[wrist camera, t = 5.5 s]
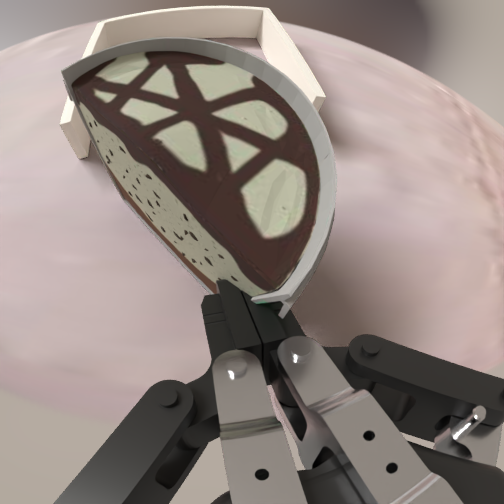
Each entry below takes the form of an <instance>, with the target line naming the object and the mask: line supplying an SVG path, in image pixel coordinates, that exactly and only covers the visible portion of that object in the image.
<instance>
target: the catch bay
mask: <svg viewBox="0 0 504 504" xmlns="http://www.w3.org/2000/svg"><path fill="white" fill-rule="evenodd" d="M160 37H188V38H197V39H198V38H226V37H237V38H257V40H258V42H259V44H260V46H261V48H262V50H263V52H264V54H265V56H266V58H267V60H268V62H269V63H270V64H271V65H273V66H274V67H275V68H277V69H278V70H280V71H281V72H282V73H284V74H285V75H286V76H287V77H289V78H290V79H291V80H292V81H293V82H294V83H295V84H296V85H297V86H298V87H299V88H300V89H301V90H302V91H303V92H304V94H305V95H306V96H307V98H308V99H309V100H310V101H311V103H312V104H313V105H314V107H315V108H316V110H317V112H319V110H320V108H321V106H322V104H323V102H324V100H325V98H326V96H325V94H324V92H323V90H322V89H321V87H320V85H319V83H318V81H317V80H316V78H315V76H314V75H313V73H312V71H311V70H310V68H309V66H308V65H307V63H306V61H305V60H304V58H303V57H302V55H301V54H300V52H299V50H298V49H297V47H296V46H295V44H294V43H293V41H292V40H291V38H290V37H289V35H288V34H287V33H286V31H285V30H284V28H283V27H282V25H281V24H280V23H279V21H278V20H277V19H276V17H275V16H274V14H273V13H272V12H271V11H270V9H269V8H260V7H244V6H198V7H182V8H172V9H163V10H155V11H148V12H142V13H137V14H131V15H126V16H121V17H117V18H112V19H108V20H104V21H100V22H98V24H97V26H96V28H95V30H94V32H93V34H92V37H91V39H90V41H89V43H88V45H87V47H86V50H85V52H84V54H83V57H82V59H83V58H85V57H87V56H89V55H91V54H94V53H96V52H98V51H101V50H103V49H106V48H109V47H112V46H116V45H119V44H123V43H127V42H132V41H136V40H142V39H150V38H160ZM60 126H61V128H62V130H63V132H64V134H65V136H66V138H67V139H68V141H69V143H70V145H71V147H72V148H73V150H74V152H75V154H76V155H77V157H78V159H81V158H85V157H88V153H89V146H90V137H89V135H88V133H87V130H86V128H85V126H84V124H83V122H82V120H81V118H80V115H79V113H78V111H77V109H76V107H75V104H74V102H73V101H71V100H70V98H69V96H68V97H67V101H66V104H65V107H64V111H63V114H62V118H61V121H60Z"/></svg>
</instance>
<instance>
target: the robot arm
mask: <svg viewBox="0 0 504 504" xmlns="http://www.w3.org/2000/svg"><path fill="white" fill-rule="evenodd" d="M216 288H217V294H212V295H206V296H205V297H204V299H203V302H202V304H201V308H202V314H203V319H204V324H205V330H206V335H207V339H208V344H209V349H210V354H211V358H212V360H211V365H210V367H209V369H208V371H207V372H206V373H205V374H204V375H203V376H201V377H200V378H198V379H196V380H194V381H192V382H190V383H188V384H184V383H182V382H180V381H176V380H164V381H160V382H158V383H156V384H154V385H153V386H151V387H150V388H149V389H148V391H147V392H146V393H145V394H144V395H143V397H142V398H141V399H140V400H139V402H138V403H137V404H136V405H135V406H134V408H133V409H132V410H131V411H130V413H129V414H128V415H127V416H126V417H125V419H124V420H123V421H122V422H121V423H120V425H119V426H118V427H117V428H116V429H115V431H114V432H113V433H112V434H111V435H110V437H109V438H108V439H107V440H106V442H105V443H104V444H103V445H102V446H101V448H100V449H99V450H98V451H97V452H96V454H95V455H94V456H93V457H92V458H91V460H90V461H89V462H88V463H87V464H86V466H85V467H84V468H83V469H82V470H81V472H80V473H79V474H78V475H77V476H76V477H75V479H74V480H73V481H72V482H71V483H70V485H69V486H68V487H67V488H66V489H65V491H64V492H63V493H62V494H61V495H60V496H59V498H58V499H57V500H56V501H55V502H54V504H169V502H170V501H171V500H172V498H173V497H174V495H175V494H176V492H177V491H178V489H179V488H180V486H181V485H182V483H183V482H184V480H185V479H186V477H187V476H188V474H189V473H190V471H191V470H192V468H193V467H194V465H195V464H196V462H197V460H198V459H199V457H200V456H201V454H202V452H203V451H204V449H205V448H206V446H207V444H208V442H210V441H212V440H214V439H216V438H218V437H220V438H221V445H222V451H223V457H224V463H225V469H226V474H227V479H228V485H229V491H227V492H226V493H224V494H222V495H221V496H220V497H218V498H217V499H215V500H214V501H213V502H212V503H211V504H504V472H503V471H502V470H501V469H499V468H497V467H496V462H497V457H498V451H499V445H500V438H501V431H502V424H503V422H504V379H502V378H498V377H495V376H492V375H489V374H485V373H482V372H479V371H476V370H473V369H470V368H467V367H463V366H460V365H457V364H454V363H451V362H448V361H445V360H442V359H439V358H436V357H434V356H431V355H428V354H425V353H422V352H419V351H416V350H413V349H411V348H408V347H405V346H402V345H399V344H397V343H394V342H391V341H388V340H386V339H383V338H380V337H377V336H374V335H368V334H366V335H360V336H357V337H355V338H354V339H353V340H352V341H351V342H350V345H349V347H323V346H321V345H320V344H319V343H318V342H317V341H315V340H314V339H312V338H309V337H306V335H305V334H304V332H303V330H302V329H301V327H300V325H299V323H298V322H297V320H296V318H295V317H294V315H293V313H292V312H291V310H289V311H288V312H287V314H286V315H285V316H284V318H283V319H282V318H281V317H280V316H279V313H280V311H281V309H282V307H283V305H284V304H283V303H282V302H281V301H275V302H268V303H260V304H256V303H254V302H253V301H251V299H252V296H250V295H249V294H247V293H246V292H244V291H243V290H241V291H240V289H239V288H238V287H236V286H235V285H234V284H232V283H231V282H229V281H228V280H226V279H222V280H216ZM267 385H272V387H273V390H274V392H275V397H274V400H275V404H276V406H277V408H278V410H279V412H280V414H281V416H282V417H283V419H284V421H285V423H286V425H287V427H288V429H289V431H290V433H291V435H292V437H293V438H294V440H295V442H296V444H297V447H298V451H299V456H300V459H301V461H302V464H303V465H304V467H305V469H306V470H300V471H297V470H296V467H295V463H294V460H293V457H292V454H291V451H290V448H289V444H288V441H287V438H286V435H285V432H284V429H283V426H282V424H281V422H280V421H278V420H277V418H276V415H275V412H274V409H273V405H272V402H271V399H270V395H269V392H268V388H267ZM400 432H402V433H405V434H408V435H412V436H415V437H418V438H421V439H424V440H427V441H431V442H434V443H435V445H434V448H433V449H430V448H427V447H424V446H421V445H418V444H416V443H412V442H410V441H406V439H405V438H404V437H403V435H402V434H401V433H400Z"/></svg>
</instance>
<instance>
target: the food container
mask: <svg viewBox="0 0 504 504" xmlns="http://www.w3.org/2000/svg"><path fill="white" fill-rule="evenodd" d="M61 72H62V75H63V78H64V80H63V81H64V84H65V87H66V90H67V93H68V96H69V98H70V100H71V101H73V102H74V104H75V107H76V109H77V111H78V113H79V115H80V118H81V120H82V122H83V124H84V126H85V128H86V130H87V133H88V135H89V137H90V139H91V141H92V143H93V145H94V147H95V149H96V151H97V153H98V155H99V157H100V159H101V161H102V163H103V164H104V166H105V168H106V170H107V172H108V174H109V176H110V178H111V179H112V181H113V183H114V185H115V187H116V189H117V190H118V192H119V194H120V196H121V198H122V199H123V200H124V201H125V203H126V204H127V205H128V206H129V207H130V208H131V210H132V211H133V212H134V213H135V214H136V215H137V216H138V218H139V219H140V220H141V221H142V222H143V223H144V224H145V225H146V227H147V228H148V229H149V230H150V231H151V232H152V233H153V234H154V235H155V236H156V238H157V239H158V240H159V241H160V242H161V243H162V244H163V245H164V246H165V247H166V248H167V250H168V251H169V252H170V253H171V254H172V255H173V256H174V257H175V258H176V259H177V260H178V261H179V262H180V263H181V264H182V265H183V266H184V268H185V269H186V270H187V271H188V272H189V273H190V274H191V275H192V276H193V277H194V278H195V279H196V280H197V281H198V282H199V283H200V284H201V285H202V286H203V287H204V288H205V289H206V290H207V291H208V292H209V293H210V294H211V295H212V294H217V288H216V280H222V279H226V280H228V281H229V282H231V283H232V284H234V285H235V286H236V287H238V288H239V289H240V291H241V290H243V291H244V292H246V293H247V294H249V295H250V296H252V299H251V301H253V302H254V303H256V304H260V303H268V302H275V301H281V302H282V303H283V304H284V305H283V307H282V309H281V311H280V313H279V316H280V317H281V318H282V319H283V318H284V316H285V315H286V314H287V312H288V311H289V310H290V308H291V307H292V306H293V304H294V303H295V302H296V300H297V299H298V297H299V296H300V295H301V293H302V292H303V290H304V289H305V287H306V286H307V285H308V283H309V282H310V280H311V278H312V276H313V274H314V272H315V270H316V268H317V266H318V264H319V262H320V260H321V258H322V256H323V254H324V252H325V250H326V246H327V243H328V239H329V236H330V232H331V228H332V225H333V221H334V212H335V201H336V186H337V173H336V165H335V157H334V151H333V147H332V144H331V141H330V138H329V135H328V132H327V129H326V127H325V125H324V123H323V121H322V119H321V117H320V115H319V114H318V112H317V110H316V108H315V107H314V105H313V104H312V103H311V101H310V100H309V99H308V98H307V96H306V95H305V94H304V92H303V91H302V90H301V89H300V88H299V87H298V86H297V85H296V84H295V83H294V82H293V81H292V80H291V79H290V78H289V77H287V76H286V75H285V74H284V73H282V72H281V71H280V70H278V69H277V68H275V67H274V66H273V65H271V64H270V63H268V62H266V61H265V60H263V59H261V58H259V57H257V56H255V55H253V54H251V53H249V52H247V51H244V50H241V49H239V48H236V47H233V46H230V45H227V44H223V43H219V42H215V41H210V40H205V39H197V38H188V37H160V38H150V39H142V40H136V41H132V42H127V43H123V44H119V45H116V46H112V47H109V48H106V49H103V50H101V51H98V52H96V53H94V54H91V55H89V56H87V57H85V58H83V59H81V60H79V61H77V62H75V63H73V64H71V65H70V66H68V67H66V68H65V69H63V70H61Z"/></svg>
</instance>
